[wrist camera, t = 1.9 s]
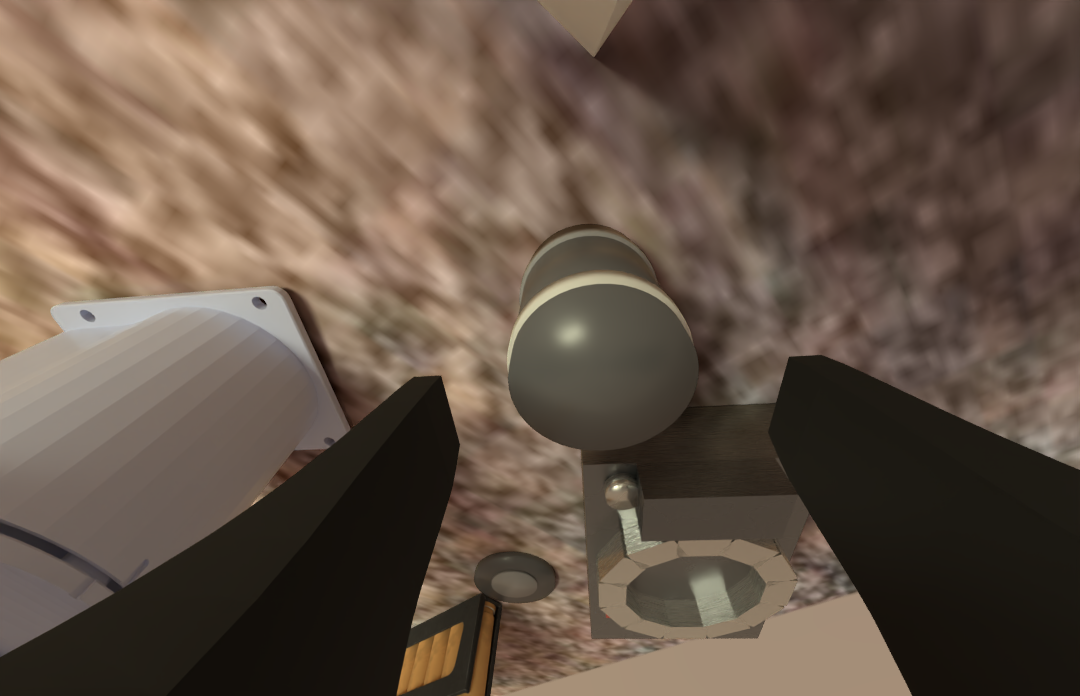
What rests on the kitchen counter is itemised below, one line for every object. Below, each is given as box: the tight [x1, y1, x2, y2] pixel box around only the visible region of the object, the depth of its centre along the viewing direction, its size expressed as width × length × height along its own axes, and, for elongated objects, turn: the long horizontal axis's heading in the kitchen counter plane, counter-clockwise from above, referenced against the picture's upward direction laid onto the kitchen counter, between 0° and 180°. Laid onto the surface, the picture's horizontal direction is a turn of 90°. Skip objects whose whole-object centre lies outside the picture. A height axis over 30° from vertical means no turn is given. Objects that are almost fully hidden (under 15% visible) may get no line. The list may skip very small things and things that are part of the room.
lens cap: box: [474, 552, 555, 603], centre depth 24 cm, size 5×5×1 cm
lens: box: [507, 224, 699, 451], centre depth 12 cm, size 5×5×6 cm
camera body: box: [581, 403, 809, 639], centre depth 19 cm, size 9×14×5 cm, turn 5°
